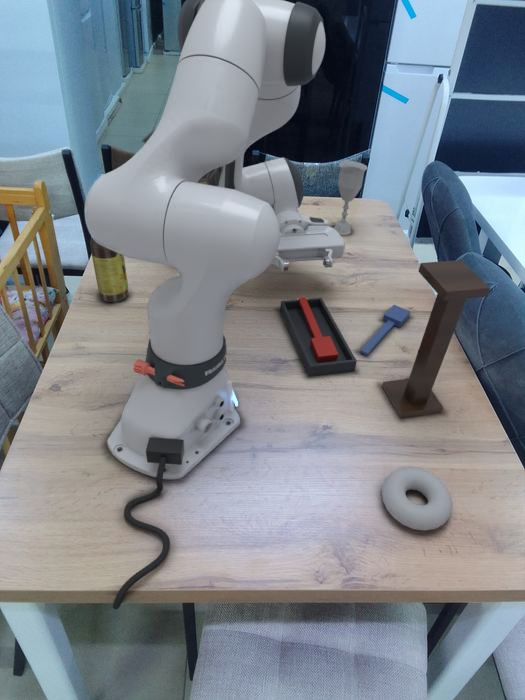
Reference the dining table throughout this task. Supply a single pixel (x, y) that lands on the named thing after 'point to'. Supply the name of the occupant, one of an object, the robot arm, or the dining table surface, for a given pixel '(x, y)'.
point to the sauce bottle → (109, 273)
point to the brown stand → (435, 336)
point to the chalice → (349, 189)
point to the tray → (303, 337)
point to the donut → (413, 513)
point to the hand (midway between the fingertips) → (307, 266)
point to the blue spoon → (387, 326)
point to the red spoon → (318, 336)
